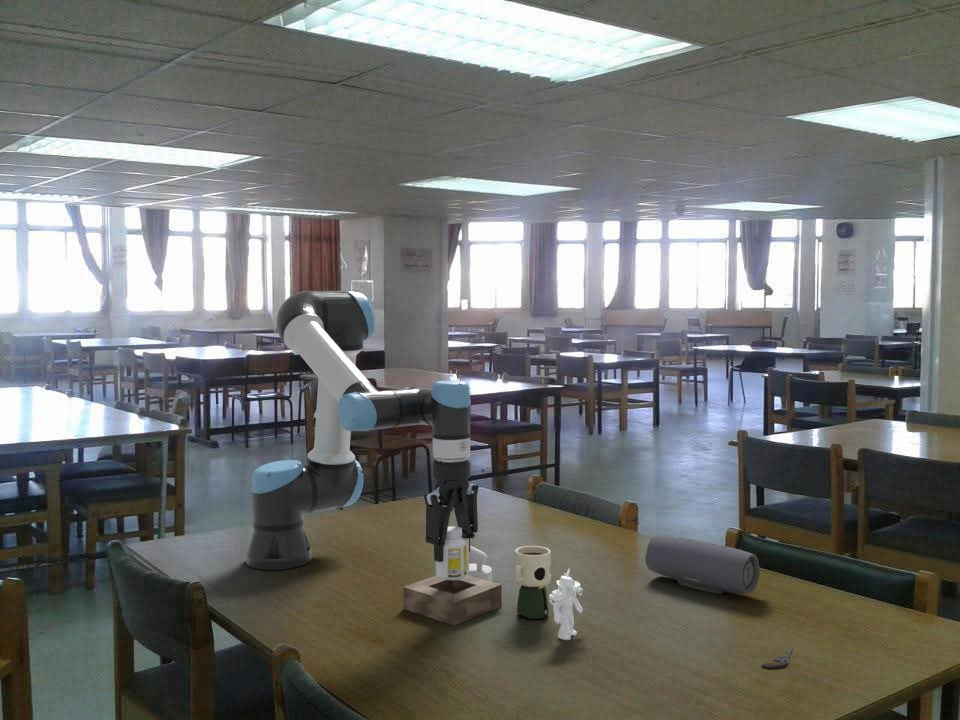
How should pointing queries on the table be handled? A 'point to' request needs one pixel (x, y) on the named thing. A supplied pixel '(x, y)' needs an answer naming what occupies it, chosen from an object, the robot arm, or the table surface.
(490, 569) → the white tilted tube stand
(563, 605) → the hat wearing toy figure
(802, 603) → the table surface
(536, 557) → the character mug
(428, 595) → the well block
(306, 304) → the robot arm
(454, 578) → the supplement bottle
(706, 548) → the bluetooth speaker
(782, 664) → the knife
